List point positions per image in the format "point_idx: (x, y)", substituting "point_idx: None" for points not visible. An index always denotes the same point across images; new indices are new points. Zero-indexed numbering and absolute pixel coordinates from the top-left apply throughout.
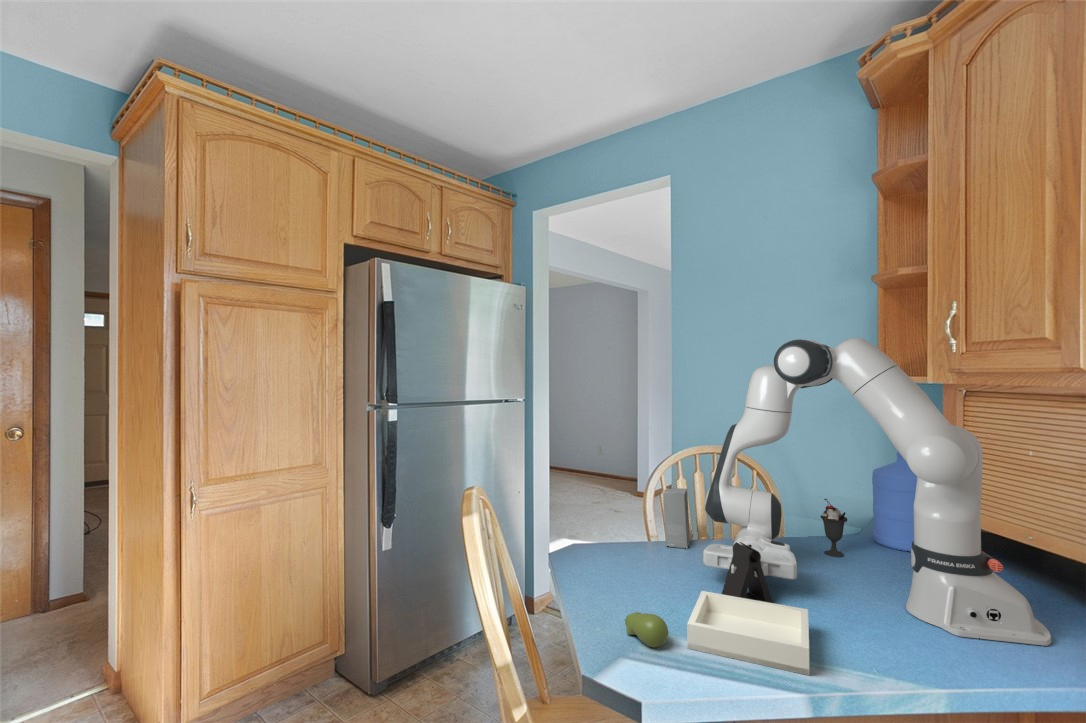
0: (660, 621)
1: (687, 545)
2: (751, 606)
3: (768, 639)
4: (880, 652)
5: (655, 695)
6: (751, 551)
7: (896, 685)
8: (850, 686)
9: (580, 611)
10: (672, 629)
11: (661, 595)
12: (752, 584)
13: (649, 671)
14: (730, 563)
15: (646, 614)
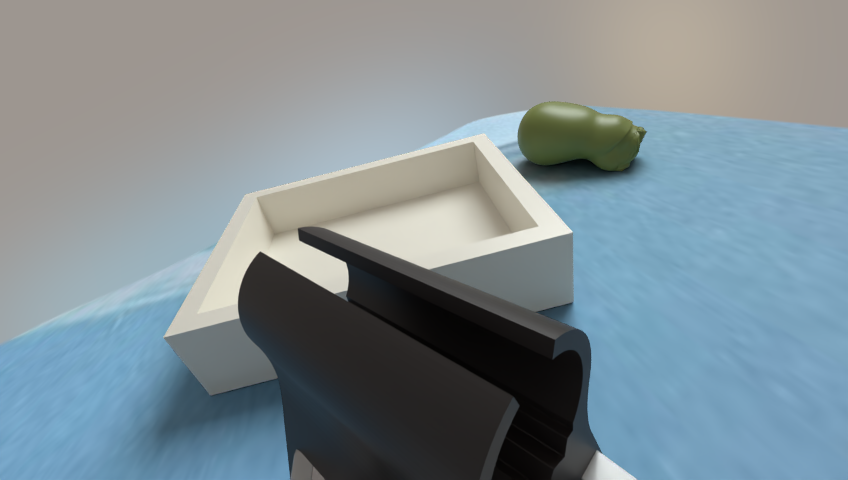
0: (529, 111)
1: None
2: None
3: (319, 176)
4: (28, 413)
5: (468, 126)
6: (311, 227)
7: (108, 300)
8: (204, 255)
9: (805, 135)
10: (565, 202)
11: (836, 317)
12: None
13: (503, 136)
14: (612, 468)
15: (572, 106)
